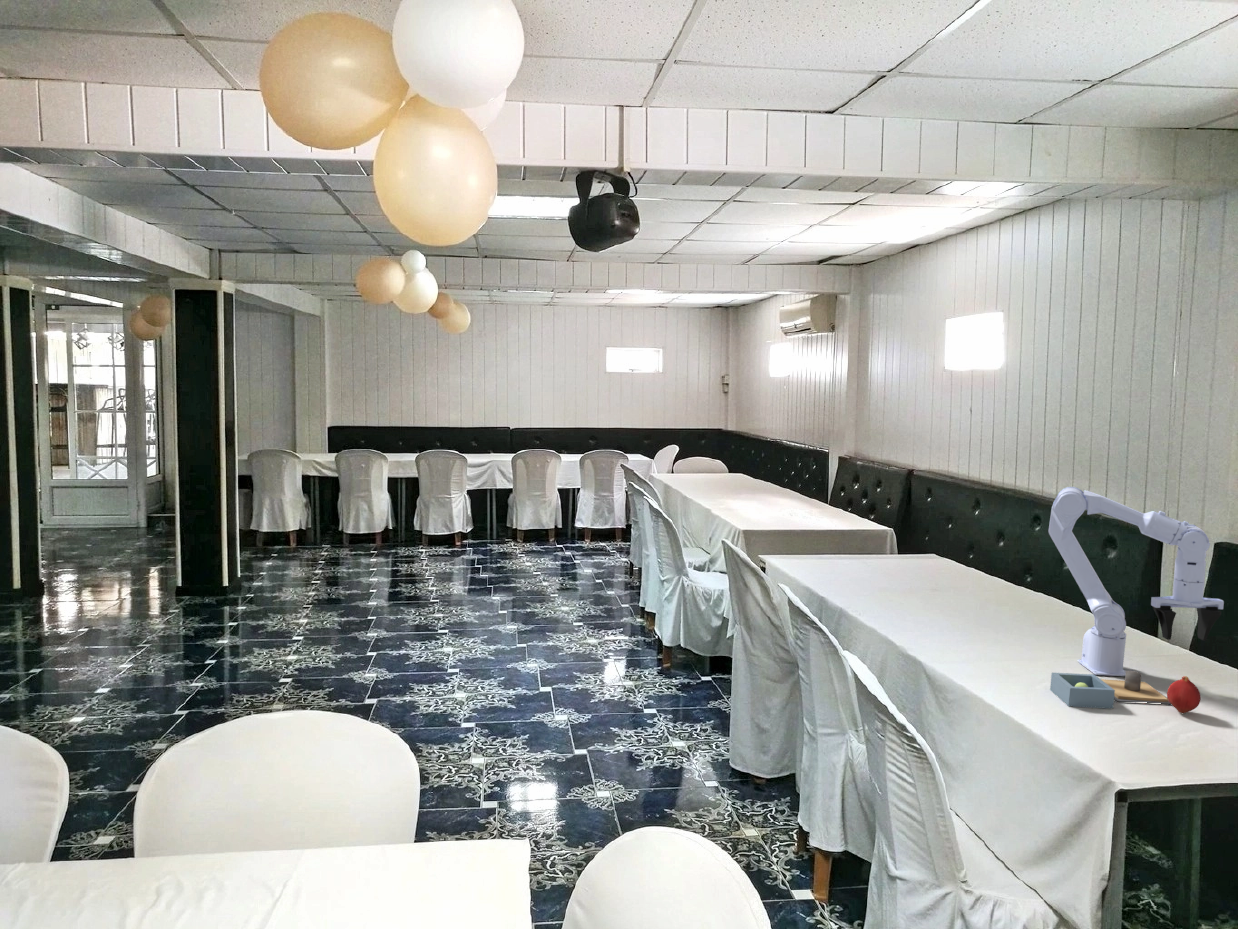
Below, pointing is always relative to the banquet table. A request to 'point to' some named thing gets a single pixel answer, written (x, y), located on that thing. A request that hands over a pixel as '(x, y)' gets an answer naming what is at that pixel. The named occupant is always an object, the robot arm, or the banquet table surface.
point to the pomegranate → (1183, 695)
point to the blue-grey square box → (1082, 690)
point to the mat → (1140, 700)
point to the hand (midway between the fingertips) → (1184, 638)
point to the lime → (1081, 685)
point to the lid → (1134, 688)
